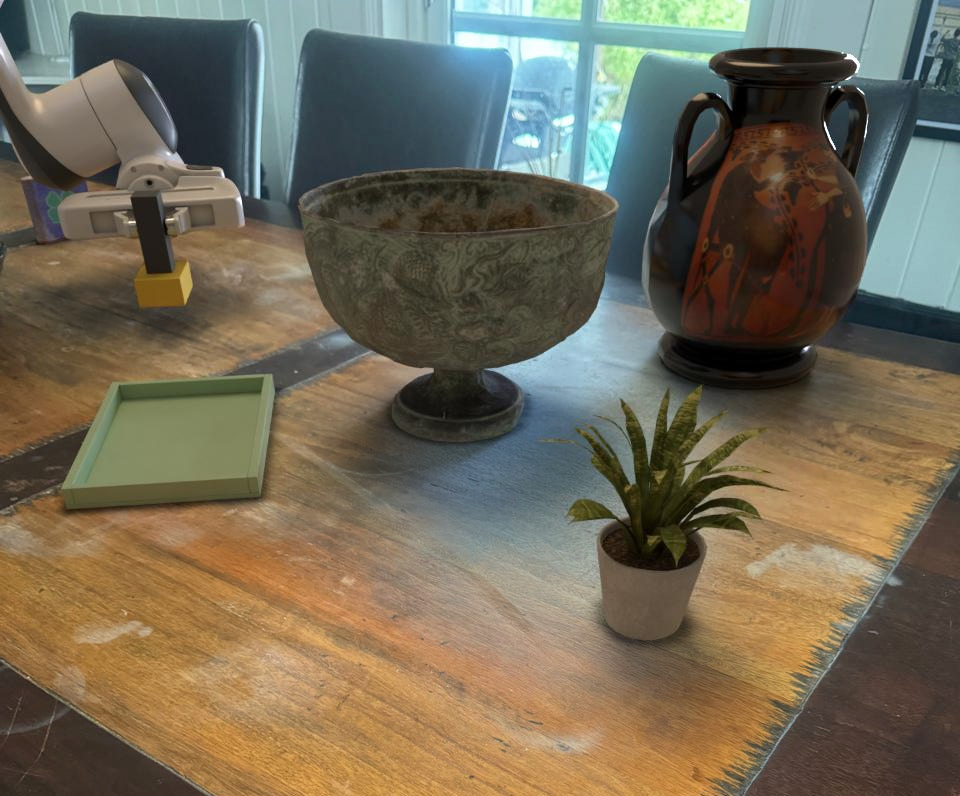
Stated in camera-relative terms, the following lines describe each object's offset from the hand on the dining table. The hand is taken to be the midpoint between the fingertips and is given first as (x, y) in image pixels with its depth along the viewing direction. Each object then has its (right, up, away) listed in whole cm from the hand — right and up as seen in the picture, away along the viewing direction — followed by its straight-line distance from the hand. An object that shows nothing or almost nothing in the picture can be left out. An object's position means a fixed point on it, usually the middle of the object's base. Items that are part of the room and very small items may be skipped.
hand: (152, 229), depth 103 cm
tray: (+9, -27, -17) cm, 33 cm away
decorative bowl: (+34, -23, -12) cm, 43 cm away
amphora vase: (+63, -16, -3) cm, 65 cm away
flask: (-25, +15, +37) cm, 47 cm away
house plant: (+46, -44, -39) cm, 75 cm away
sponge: (0, -5, +5) cm, 8 cm away
